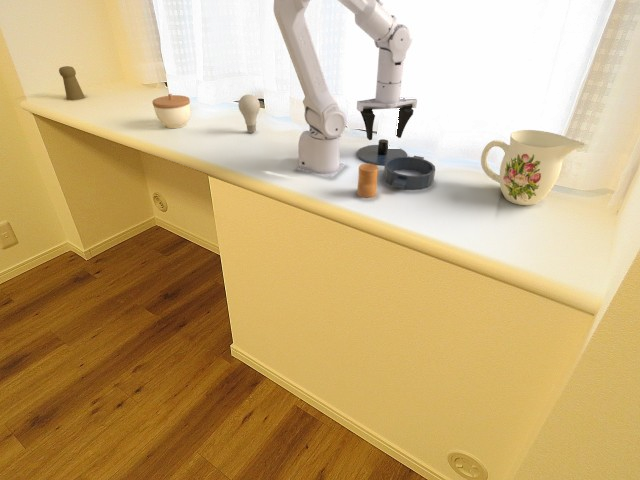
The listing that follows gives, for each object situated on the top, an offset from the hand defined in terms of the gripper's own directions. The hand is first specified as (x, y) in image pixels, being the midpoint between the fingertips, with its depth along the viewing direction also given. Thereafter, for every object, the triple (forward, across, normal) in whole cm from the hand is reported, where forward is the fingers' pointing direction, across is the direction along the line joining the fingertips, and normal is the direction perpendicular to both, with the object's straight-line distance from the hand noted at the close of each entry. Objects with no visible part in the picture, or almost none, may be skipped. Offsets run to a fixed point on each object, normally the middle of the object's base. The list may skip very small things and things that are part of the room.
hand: (383, 137), depth 102 cm
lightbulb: (+6, -32, +26) cm, 41 cm away
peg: (+5, -10, -20) cm, 23 cm away
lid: (+5, 0, 0) cm, 5 cm away
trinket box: (+5, -55, +37) cm, 66 cm away
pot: (+5, +1, -14) cm, 16 cm away
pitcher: (+6, +21, -26) cm, 34 cm away
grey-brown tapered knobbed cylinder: (+5, -95, +77) cm, 122 cm away
